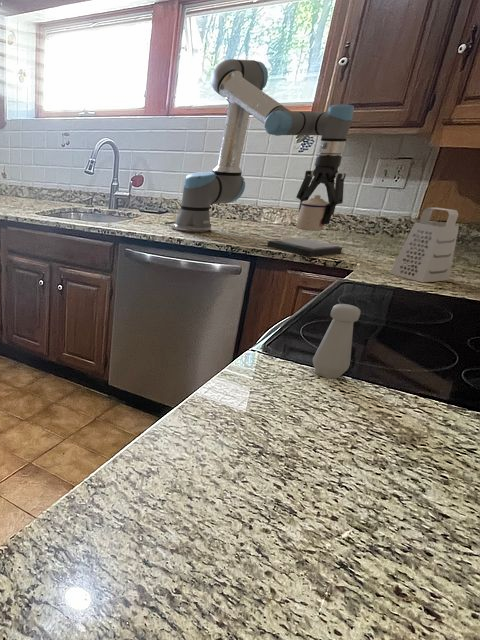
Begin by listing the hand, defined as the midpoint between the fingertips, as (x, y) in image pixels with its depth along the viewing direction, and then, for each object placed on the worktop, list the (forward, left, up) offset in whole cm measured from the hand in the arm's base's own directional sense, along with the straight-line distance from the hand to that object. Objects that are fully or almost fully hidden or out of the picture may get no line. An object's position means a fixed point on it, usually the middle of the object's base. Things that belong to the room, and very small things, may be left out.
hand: (313, 221), depth 188 cm
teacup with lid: (-1, 0, -3) cm, 3 cm away
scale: (-1, -1, -10) cm, 10 cm away
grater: (+39, 0, -10) cm, 41 cm away
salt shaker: (+78, -89, -10) cm, 119 cm away
